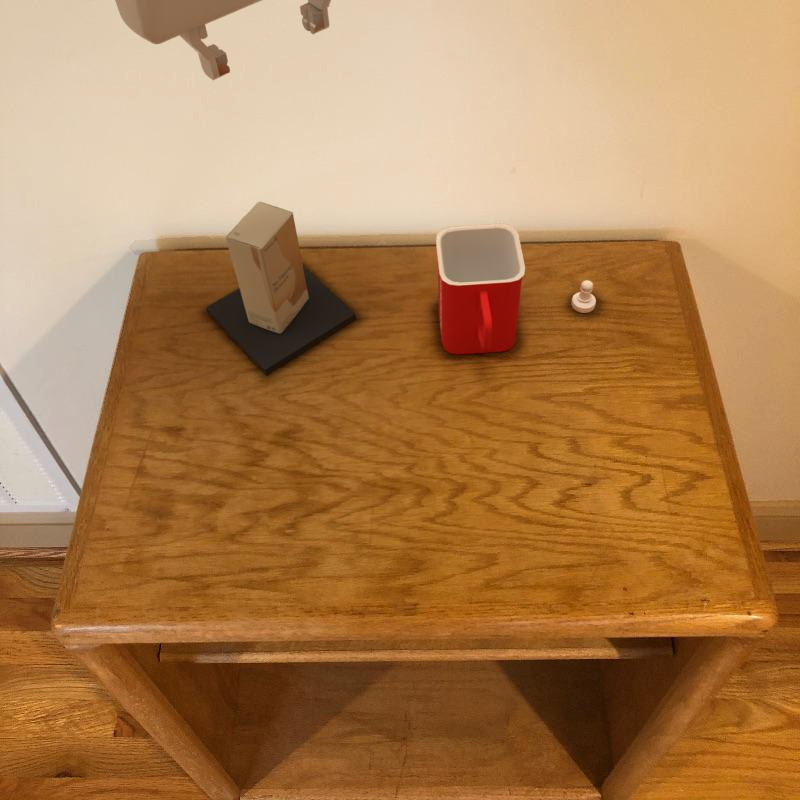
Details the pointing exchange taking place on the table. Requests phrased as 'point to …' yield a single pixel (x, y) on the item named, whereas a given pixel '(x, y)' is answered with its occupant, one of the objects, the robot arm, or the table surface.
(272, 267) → the cosmetic box
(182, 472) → the table surface
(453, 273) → the mug
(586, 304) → the chess pawn
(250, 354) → the rubber mat
